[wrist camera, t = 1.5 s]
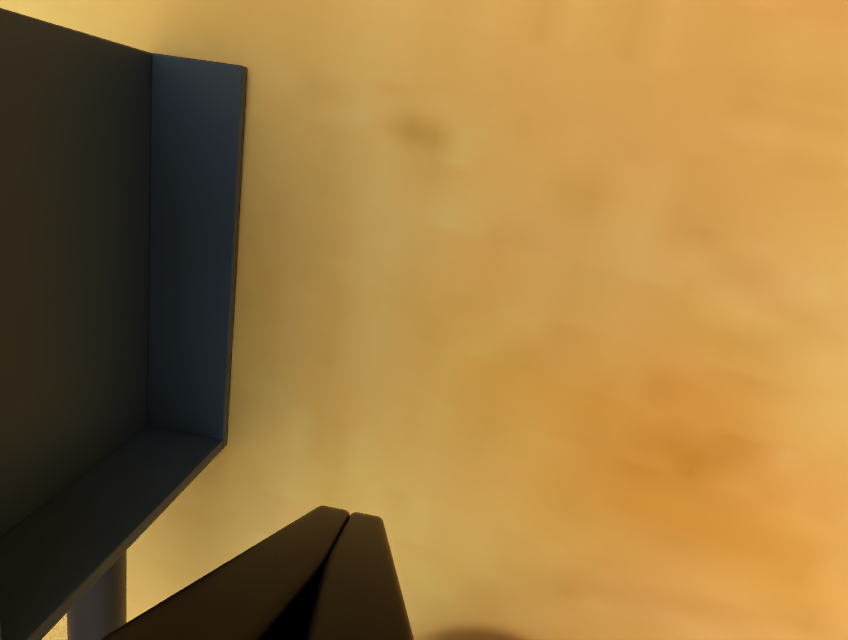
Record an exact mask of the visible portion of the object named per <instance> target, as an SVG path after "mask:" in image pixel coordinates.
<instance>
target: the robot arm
mask: <svg viewBox="0 0 848 640" xmlns="http://www.w3.org/2000/svg"><path fill="white" fill-rule="evenodd" d="M101 640H414V639H413V635H412V631H411V627H410V623H409V619H408V616H407V612H406V608H405V604H404V600H403V596H402V593H401V589H400V585H399V581H398V577H397V573H396V570H395V566H394V562H393V558H392V554H391V550H390V546H389V543H388V539H387V535H386V531H385V527H384V523H383V521H382V519H381V518H380V517H378V516H373V515H368V514H363V513H358V512H355V513H352V514H351V515H350V513H349V512H348V511H347V510H343V509H338V508H333V507H328V506H319V507H317V508H316V509H314V510H312V511H311V512H309V513H307V514H306V515H304V516H302V517H301V518H299V519H297V520H296V521H294V522H292V523H291V524H289V525H287V526H286V527H284V528H283V529H281V530H279V531H278V532H276V533H274V534H273V535H271V536H269V537H268V538H266V539H264V540H263V541H261V542H259V543H258V544H256V545H254V546H253V547H251V548H250V549H248V550H246V551H245V552H243V553H241V554H240V555H238V556H236V557H235V558H233V559H231V560H230V561H228V562H226V563H225V564H223V565H221V566H220V567H218V568H217V569H215V570H213V571H212V572H210V573H208V574H207V575H205V576H203V577H202V578H200V579H198V580H197V581H195V582H193V583H192V584H190V585H188V586H187V587H185V588H184V589H182V590H180V591H179V592H177V593H175V594H174V595H172V596H170V597H169V598H167V599H165V600H164V601H162V602H160V603H159V604H157V605H156V606H154V607H152V608H151V609H149V610H147V611H146V612H144V613H142V614H141V615H139V616H137V617H136V618H134V619H132V620H131V621H129V622H127V623H126V624H124V625H123V626H121V627H119V628H118V629H116V630H114V631H113V632H111V633H109V634H108V635H106V636H104V637H103V638H101Z"/></svg>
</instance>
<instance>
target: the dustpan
mask: <svg viewBox="0 0 848 640" xmlns="http://www.w3.org/2000/svg"><path fill="white" fill-rule="evenodd" d="M246 81H247V68H246V67H244V66H241V65H234V64H226V63H219V62H212V61H205V60H198V59H191V58H183V57H176V56H169V55H162V54H155V53H149V52H146V51H142V50H139V49H136V48H132V47H129V46H126V45H122V44H119V43H116V42H112V41H109V40H106V39H102V38H99V37H96V36H92V35H89V34H86V33H82V32H79V31H75V30H72V29H69V28H65V27H62V26H59V25H55V24H52V23H49V22H45V21H42V20H39V19H35V18H32V17H29V16H25V15H22V14H19V13H15V12H12V11H8V10H5V9H2V8H0V640H41V639H42V638H43V637H44V636H45V635H46V634H47V633H48V632H49V631H50V630H51V629H52V628H53V627H54V626H55V625H56V623H57V622H58V621H59V620H60V619H61V618H62V617H63V616H64V615H65V614H66V613H67V633H68V640H101V638H103V637H104V636H106V635H108V634H109V633H111V632H113V631H114V630H116V629H118V628H119V627H121V626H123V625H124V624H126V550H127V549H128V548H129V547H130V546H131V545H132V544H133V543H134V542H135V541H136V540H137V538H138V537H139V536H140V535H141V534H142V533H143V532H144V531H145V530H146V529H147V528H148V527H149V526H150V525H151V524H152V523H153V522H154V521H155V520H156V519H157V517H158V516H159V515H160V514H161V513H162V512H163V511H164V510H165V509H166V508H167V507H168V506H169V505H170V504H171V503H172V502H173V501H174V500H175V499H176V498H177V496H178V495H179V494H180V493H181V492H182V491H183V490H184V489H185V488H186V487H187V486H188V485H189V484H190V483H191V482H192V481H193V480H194V479H195V478H196V477H197V475H198V474H199V473H200V472H201V471H202V470H203V469H204V468H205V467H206V466H207V465H208V464H209V463H210V462H211V461H212V460H213V459H214V458H215V457H216V456H217V455H218V453H219V452H220V451H221V450H222V449H223V448H224V447H225V446H226V445H227V431H228V412H229V394H230V376H231V357H232V339H233V320H234V302H235V283H236V265H237V247H238V228H239V210H240V191H241V173H242V154H243V136H244V118H245V99H246Z"/></svg>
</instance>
